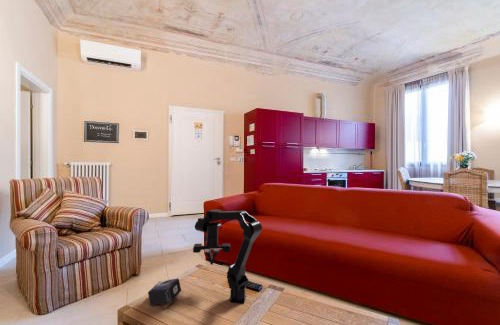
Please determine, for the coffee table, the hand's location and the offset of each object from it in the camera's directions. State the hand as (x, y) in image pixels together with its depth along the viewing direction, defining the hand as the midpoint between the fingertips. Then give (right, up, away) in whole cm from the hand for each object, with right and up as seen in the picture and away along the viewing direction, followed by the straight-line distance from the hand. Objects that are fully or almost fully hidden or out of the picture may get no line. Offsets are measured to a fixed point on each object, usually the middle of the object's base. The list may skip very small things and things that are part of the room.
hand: (211, 264), depth 130 cm
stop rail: (-17, -12, -12) cm, 24 cm away
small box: (-15, -6, -13) cm, 21 cm away
